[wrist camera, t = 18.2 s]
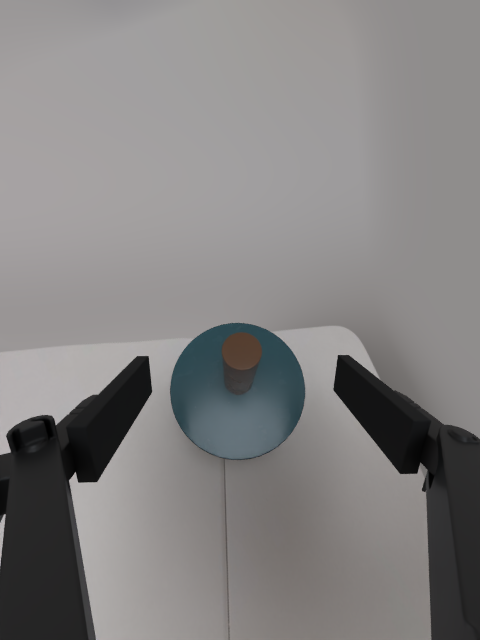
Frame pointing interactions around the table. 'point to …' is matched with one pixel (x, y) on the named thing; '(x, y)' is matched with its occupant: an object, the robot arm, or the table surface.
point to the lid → (237, 391)
